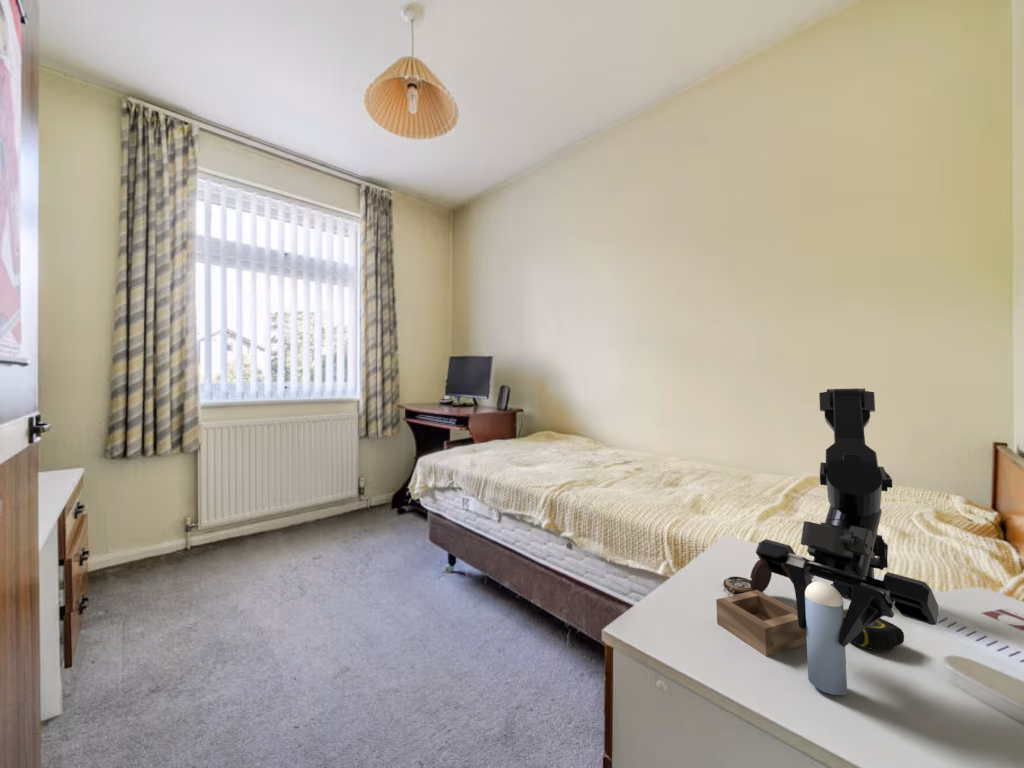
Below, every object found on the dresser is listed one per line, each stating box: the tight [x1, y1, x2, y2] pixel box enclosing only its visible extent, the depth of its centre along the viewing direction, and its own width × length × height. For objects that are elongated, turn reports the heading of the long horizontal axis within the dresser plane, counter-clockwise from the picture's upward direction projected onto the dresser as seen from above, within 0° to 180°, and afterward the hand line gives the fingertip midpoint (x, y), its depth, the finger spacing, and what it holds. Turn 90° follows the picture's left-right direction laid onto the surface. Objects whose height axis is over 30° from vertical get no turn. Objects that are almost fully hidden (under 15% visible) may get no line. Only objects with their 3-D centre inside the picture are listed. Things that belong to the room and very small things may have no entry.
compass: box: [723, 557, 773, 595], centre depth 78 cm, size 8×8×7 cm
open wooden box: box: [716, 590, 807, 657], centre depth 65 cm, size 9×9×4 cm
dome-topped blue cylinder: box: [805, 581, 848, 696], centre depth 53 cm, size 4×4×13 cm
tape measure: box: [844, 608, 905, 652], centre depth 62 cm, size 7×7×4 cm
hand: (820, 636), depth 52 cm, fingers closed on dome-topped blue cylinder, 4 cm apart
